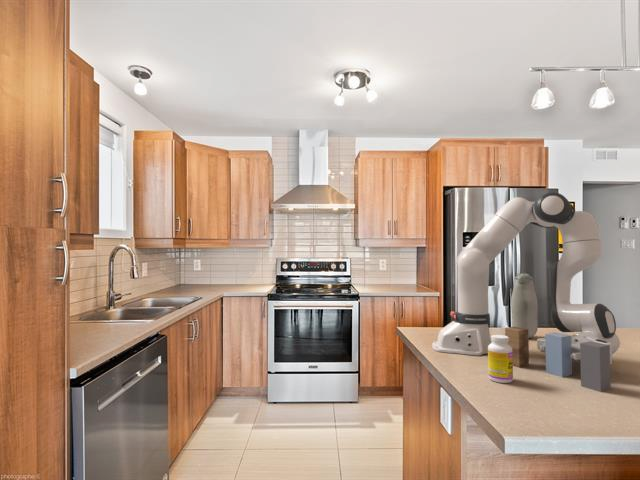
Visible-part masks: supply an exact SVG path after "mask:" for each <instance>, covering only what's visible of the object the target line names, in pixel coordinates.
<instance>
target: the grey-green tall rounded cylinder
mask: <svg viewBox="0 0 640 480" xmlns="http://www.w3.org/2000/svg"><path fill="white" fill-rule="evenodd" d="M513 282H514V283H513V289H512V293H511V299H510V311H511V312H510V315H511V317H510V318H511V327H519V328H524V329H528V336H529V339H530V338H533V337H534V336H536V334H537V332H538V329H539V328H538V326H539V321H538V320H539V319H538V318H539V316H538V315H539V314H538V313H539V311H538V310H539V309H538V308H539V306H538V305H539V304H538V297H537V293H536V289H535V283H534V278H533V277H532V276H531V274H529V273H518V274H516V276H515V277H514V280H513Z"/></svg>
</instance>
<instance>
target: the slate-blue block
mask: <svg viewBox="0 0 640 480" xmlns="http://www.w3.org/2000/svg"><path fill="white" fill-rule="evenodd" d="M571 335H572V334H571ZM571 335H569V334H565V333H562V332H550V333H545V334H544V338H545V348H546V352H545V373H546V374H549V375H554V376H557V377H561V378H565V377H567V376H571V375H573V364H572V363H573V361H572V360H573V359H571V358H570V353H572V352H571Z"/></svg>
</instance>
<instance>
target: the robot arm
mask: <svg viewBox="0 0 640 480" xmlns="http://www.w3.org/2000/svg"><path fill="white" fill-rule="evenodd" d="M528 224H531V225H535V226H537V227H540V228H544V229H545V228H546V229H551V228H554V227H555V228H557V229H558V230H559V232H560V235H561V240H562V252H561V255H560V258H559V259H558V260H557V261H556V263H555V265H554V273H553V274H554V276H553V291H552V293H553V294H552V307H551V309H550V322H551V323H552V325H553V326H554V328H556V329H557V330H559V332H560V333H574V334H571V352H572V353H570V358H571V359H572V360H574V361H577V362H580V343H584V342H589V341H591V342H596V343H601V344H606V345H610V365H611V364H613V356H614V354H615V353H617V351H618V350H619V349H620V346H621V342H620V338H619V335H617V333H616V329H617V323H616V318H615V316H614V314H613V313H612V311H611V310H610V309H609V308H608V307H607V306H605V305H604V304H603V303H571V286H572V285H571V284H572V283H571V282H572V279H573V278H574V277H575V276H576V275H578V274H579V273H581V272H582V271H585V270H586V269H589V268H591V267H593V266H594V265H595V264H596V263H598V261H599V260H600V259H601V257H602V242H601V237H600V232H599V229H598V226H597V223H596V220H595V217H594V216H593V215H592V214H591V213H590V212H588V211H584V210H583V211H582V210H576V208H575V207H574V205H572V203H571V202H570V201H569V200H568V199H567V197H566V196H564V195H563V194H561V193H559V192H554V191H552V192H550V191H549V192H547V193H544V194H542V195H540V196H538V197H537V199H536V200H535V201H529V200H528V199H526V198H524V197H520V196H516V197H513V198H510V200H508V201H507V202H506V203H505V204H504V205H502V206H501V207H500V208H499V209H497V211H496V213H495V214H494V215H493V216H492V217H491V218H490V219H489V221H487V223H486V224H485V225H484V226H483V227H482V228H481V230H480V231H479V232H478V233H477V234H476V235H475V236H474V237H473V238H472V239H471V240H470V241H469V243H467V245H466V246H465V247H463V249H462V250H461V252H459V254H458V255H457V258H456V266H457V311H456V312H455V311H451V312H450V316H451V319H452V321H451V322H449V323H447V324H446V325H445V326H444V327H442V328H441V329H440V330H439V331H438V336H437V340H434V341H433V342H432V344H431V347H432V349H433V350H434V351H435V352H439V353H451V354H459V355H470V356H482V355H484V354H485V355H486V354H488V346H489V344H491V343H492V340H491V332H490V328H491V315H490V312H489V285H490V284H489V283H490V264H491V262H493V261H494V260H495V258H497V257H498V256H499V255H500V254H501V253H502V252H503V251H504V250H505V249H506V248H507V247H508V246H509V245H510V244H511V243H512V241H514V239H515V238H516V237H517V236H518V235H519V234H520V233H521V231H522V230H523V229H524V228H525V227H526V226H527V225H528ZM577 332H578V333H577ZM536 348H537V350H538V351H540V352H542V353H546V348H545V337H538V338H537V339H536Z"/></svg>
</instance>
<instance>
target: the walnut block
mask: <svg viewBox="0 0 640 480" xmlns="http://www.w3.org/2000/svg"><path fill="white" fill-rule="evenodd" d="M504 336H507V337H509V341H508V345H509V346H511V347H512V352H513V367H515V368H518V369H519V368H524V367H528V366H530V347H529V345H530V343H529V342H530V341H529V340H530V338H529V336H528V329H524V328H519V327H512V326H511V327H509V326H508V327H505V328H504Z"/></svg>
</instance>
